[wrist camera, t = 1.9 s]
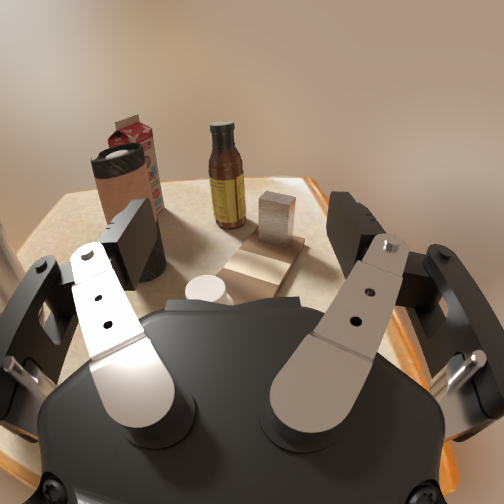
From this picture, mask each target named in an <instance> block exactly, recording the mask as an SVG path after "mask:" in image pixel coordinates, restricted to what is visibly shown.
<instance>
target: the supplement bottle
mask: <svg viewBox="0 0 504 504" xmlns="http://www.w3.org/2000/svg"><path fill="white" fill-rule="evenodd" d="M185 295H186V299H199V300H204V301H209V302H214V303H220V304H225V305H234V302H233V300H232V298H231V297H230V296H229V295H228V294H227V292H226V286H225V283H224V282H223V280H222V279H220V278H219V277H216V276H213V275H202V276H198V277H196V278H194V279H192V280H191V281H190V282H189V283H188V284H187V286H186V288H185Z"/></svg>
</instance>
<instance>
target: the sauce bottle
mask: <svg viewBox="0 0 504 504" xmlns="http://www.w3.org/2000/svg"><path fill="white" fill-rule="evenodd" d="M234 128H235V127H234V122H233V121H217V122H213V123H211V124H210V131H211V133H212V141H213V144H212V147H213V148H212V153H211V156H210V159H209V179H210V187H211V195H212V203H213V211H214V217H215V219H216V223H217V224H218V225H219V226H220V227H223V228H227V229H228V228H235V227H239V226H241V225H242V224H243V223H244V222H245V220H246V216H245V215H246V204H245V190H244V173H243V168H242V159H241V156H240V153H239V152H238V151H237V149H236V148H235V143H234V134H233V131H234Z"/></svg>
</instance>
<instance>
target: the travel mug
mask: <svg viewBox="0 0 504 504" xmlns="http://www.w3.org/2000/svg"><path fill="white" fill-rule="evenodd" d="M91 164H92V169H93V173H94V177H95V181H96V185H97V189H98V193H99V197H100V201H101V204H102V208H103V211H104V215H105V218H106V221H107V225H109V224H110V222H111V221H112V219H113V218H114V217H115V216H116V215H117V214H119V213H120V212H122V211H123V210H124V209H125V208H126V207H127V205H128V204H129V203H130V202H131V200H132V199H140V198H149V200H150V202H151V206H152V210H153V215H154V219H155V224H156V228H157V240H156V243H155V245H154V247H153V249H152V251H151V254H150V256H149V258H148V260H147V263H146V265H145V267H144V270H143V272H142V275H141V277H140V279H139V282H146V281H150V280H152V279H155V278H156V277H158V276H159V275H160V274H162V272H163V271H164V270H165V267H166V259H165V254H164V249H163V245H162V240H161V235H160V230H159V224H158V219H157V214H156V210H155V205H154V201H153V196H152V191H151V186H150V181H149V176H148V171H147V166H146V160H145V154H144V148H143V145H142V144H141V143H128V144H122V145H118V146H115V147H111V148H109V149H106V150H104V151H102V152H100V153H99V156H98V157H97V158H96V159H95V160H92V159H91Z"/></svg>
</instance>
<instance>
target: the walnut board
mask: <svg viewBox="0 0 504 504" xmlns="http://www.w3.org/2000/svg"><path fill="white" fill-rule="evenodd" d="M304 242H305V238H301V237H297V236H292V240H291V242H290V243H289V245H288V246H287V248H284V247H280V246H276V245H273V244H269V243H265V242H261V241H259V227H257V228H256V229H255V230H254V232H253V233H252V234H251V235H250V236H249V237H248V239H247V240H246V241H245V242H244V243H243V244H242V246H241V247H240V248H239V249H238V250H237V251H236V253H235V254H234V255H233V256H232V257H231V258H230V260H229V261H228V262H227V263H226V264H225V266H224V267H223V268H222V269H221V270H220V272H219V273H218V274H217V275H216V277H219V278H220V279H222V280H223V282H224V283H225V286H226V292H227V294H228V295H229V296H230V297H231V298H232V300H233V302H234V305H237V304H242V303H246V302H251V301H255V300H259V299H264V298H275V297H276V295H277V293H278V291H279V289H280V288H281V286H282V284H283V282H284V281H285V279H286V277H287V275H288V273H289V271H290V270H291V268H292V266H293V264H294V262H295V260H296V259H297V257H298V255H299V253H300V251H301V249H302V247H303V246H304Z"/></svg>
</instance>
